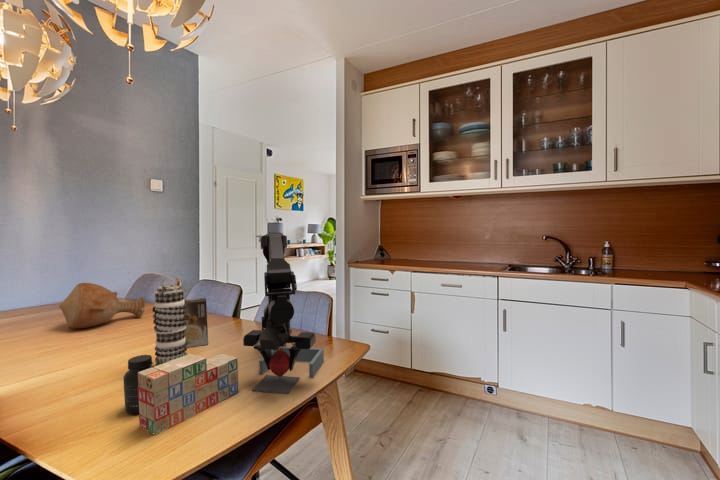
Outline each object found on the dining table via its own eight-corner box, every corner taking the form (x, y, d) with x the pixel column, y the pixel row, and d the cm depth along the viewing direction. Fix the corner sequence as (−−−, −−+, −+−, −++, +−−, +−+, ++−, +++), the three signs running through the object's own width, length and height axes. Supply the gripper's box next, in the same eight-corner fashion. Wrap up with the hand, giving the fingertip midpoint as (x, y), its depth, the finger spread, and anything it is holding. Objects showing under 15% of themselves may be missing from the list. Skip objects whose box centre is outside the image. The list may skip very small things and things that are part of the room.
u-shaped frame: (259, 374, 101) (259, 360, 100) (275, 358, 112) (275, 346, 112) (312, 377, 98) (312, 363, 98) (323, 361, 110) (323, 348, 110)
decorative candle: (154, 376, 99) (151, 289, 98) (153, 365, 107) (151, 285, 106) (189, 369, 104) (187, 286, 103) (186, 359, 112) (184, 282, 111)
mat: (251, 391, 90) (251, 389, 90) (266, 376, 99) (266, 374, 99) (288, 394, 89) (288, 392, 89) (299, 378, 98) (299, 377, 98)
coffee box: (208, 339, 131) (207, 297, 130) (208, 345, 125) (207, 300, 124) (180, 343, 127) (179, 299, 126) (179, 348, 121) (178, 303, 121)
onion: (285, 382, 92) (285, 352, 91) (265, 380, 93) (265, 350, 92) (294, 372, 97) (293, 344, 97) (275, 371, 99) (274, 343, 98)
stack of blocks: (223, 387, 93) (222, 341, 92) (239, 393, 90) (238, 346, 89) (138, 427, 75) (136, 371, 74) (155, 436, 71) (153, 378, 71)
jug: (51, 298, 149) (130, 295, 173) (54, 339, 141) (136, 330, 165) (64, 273, 140) (146, 274, 163) (68, 316, 132) (153, 310, 156)
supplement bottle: (135, 401, 85) (133, 353, 85) (164, 399, 86) (162, 352, 86) (118, 416, 79) (116, 364, 78) (149, 415, 79) (148, 363, 79)
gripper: (232, 320, 88) (233, 381, 88) (303, 323, 85) (304, 385, 86) (252, 309, 99) (253, 363, 99) (315, 312, 96) (316, 367, 97)
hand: (280, 370), depth 95 cm, fingers closed on onion, 6 cm apart
